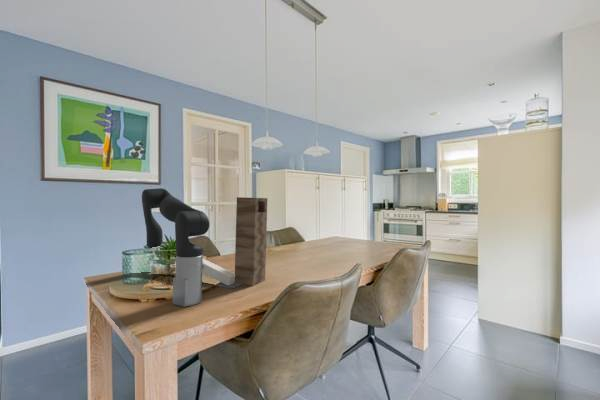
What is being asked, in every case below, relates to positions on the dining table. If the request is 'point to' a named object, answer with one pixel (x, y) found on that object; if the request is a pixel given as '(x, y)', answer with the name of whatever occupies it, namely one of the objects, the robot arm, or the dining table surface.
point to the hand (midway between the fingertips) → (206, 265)
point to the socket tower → (250, 240)
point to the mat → (229, 285)
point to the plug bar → (218, 273)
